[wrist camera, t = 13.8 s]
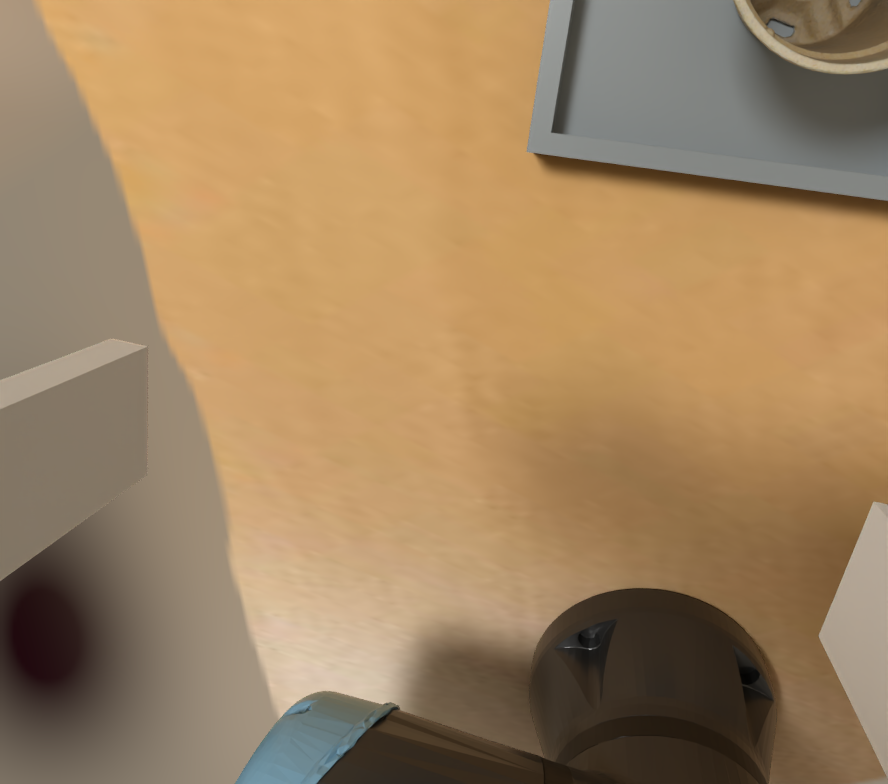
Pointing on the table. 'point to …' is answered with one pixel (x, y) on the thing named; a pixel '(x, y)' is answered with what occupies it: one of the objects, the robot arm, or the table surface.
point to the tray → (703, 99)
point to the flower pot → (823, 33)
